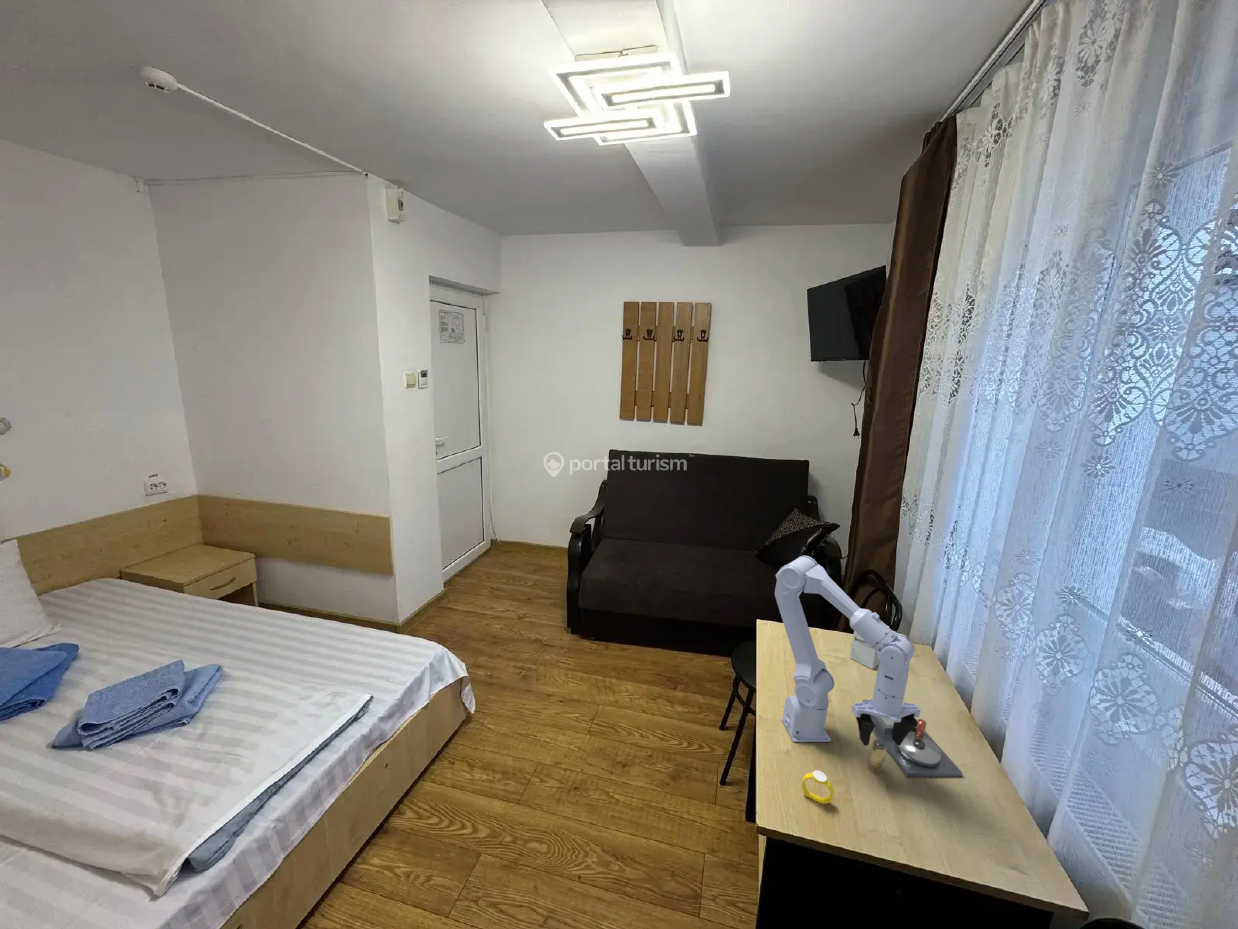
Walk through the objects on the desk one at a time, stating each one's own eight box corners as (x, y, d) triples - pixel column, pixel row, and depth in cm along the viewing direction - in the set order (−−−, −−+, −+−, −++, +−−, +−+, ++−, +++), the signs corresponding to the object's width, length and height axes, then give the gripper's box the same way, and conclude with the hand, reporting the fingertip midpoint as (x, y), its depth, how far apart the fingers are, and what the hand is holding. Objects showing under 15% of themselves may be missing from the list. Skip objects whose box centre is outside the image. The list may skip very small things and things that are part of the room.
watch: (830, 801, 100) (836, 778, 99) (828, 811, 98) (835, 788, 97) (801, 786, 103) (806, 764, 102) (798, 796, 101) (804, 773, 99)
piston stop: (872, 773, 107) (876, 749, 106) (864, 762, 110) (869, 738, 109) (884, 773, 108) (889, 749, 106) (877, 762, 110) (881, 738, 109)
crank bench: (906, 777, 107) (909, 762, 106) (854, 707, 128) (856, 694, 127) (961, 776, 108) (965, 761, 107) (900, 707, 129) (902, 694, 128)
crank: (940, 773, 107) (945, 752, 106) (894, 754, 112) (898, 734, 110) (939, 747, 114) (944, 727, 113) (897, 730, 119) (900, 711, 118)
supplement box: (848, 658, 150) (854, 622, 148) (859, 650, 155) (865, 615, 152) (872, 670, 145) (878, 633, 142) (883, 662, 149) (890, 625, 147)
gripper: (868, 702, 100) (858, 756, 103) (933, 701, 101) (922, 756, 104) (850, 680, 107) (842, 732, 110) (912, 680, 108) (902, 731, 111)
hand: (880, 742), depth 107 cm, fingers open, 7 cm apart
